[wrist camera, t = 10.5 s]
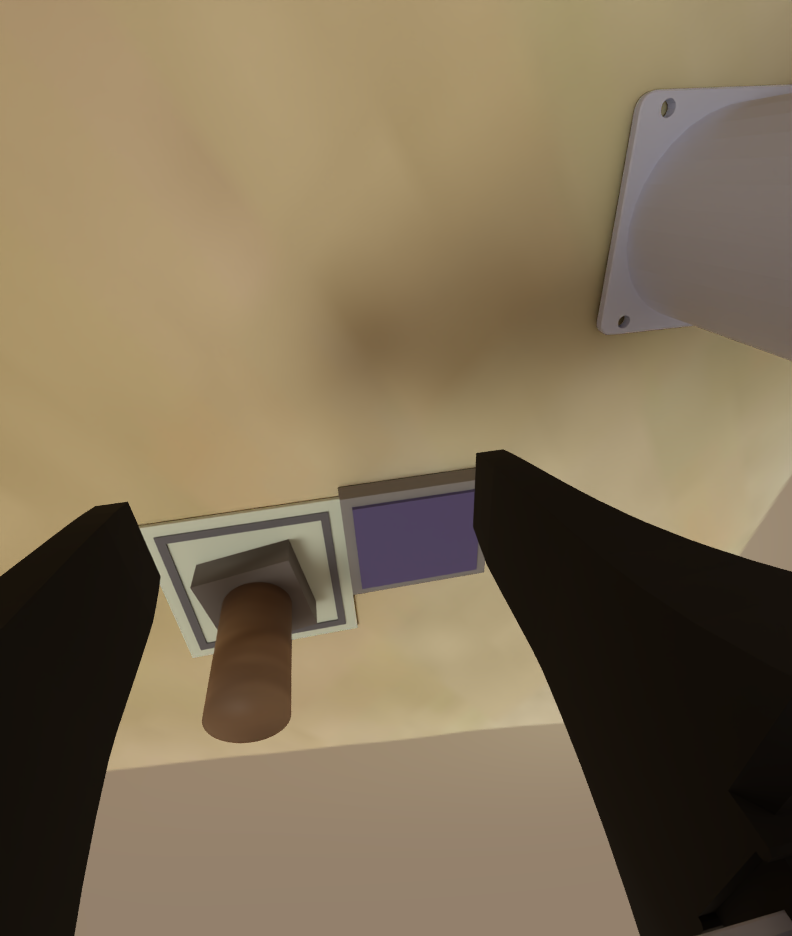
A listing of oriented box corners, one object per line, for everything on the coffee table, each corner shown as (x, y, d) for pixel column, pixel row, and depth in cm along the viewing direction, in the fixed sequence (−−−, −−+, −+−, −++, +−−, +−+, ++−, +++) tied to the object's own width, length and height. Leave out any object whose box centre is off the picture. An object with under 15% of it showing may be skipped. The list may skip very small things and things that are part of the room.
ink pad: (483, 466, 22) (492, 480, 21) (477, 559, 26) (485, 574, 25) (337, 487, 22) (339, 502, 21) (350, 580, 25) (353, 598, 24)
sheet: (339, 496, 22) (339, 500, 22) (357, 624, 27) (357, 629, 26) (136, 526, 21) (134, 530, 20) (193, 654, 25) (192, 659, 25)
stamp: (288, 539, 22) (286, 666, 16) (316, 601, 25) (322, 731, 19) (196, 564, 22) (160, 703, 16) (233, 624, 25) (213, 764, 19)
